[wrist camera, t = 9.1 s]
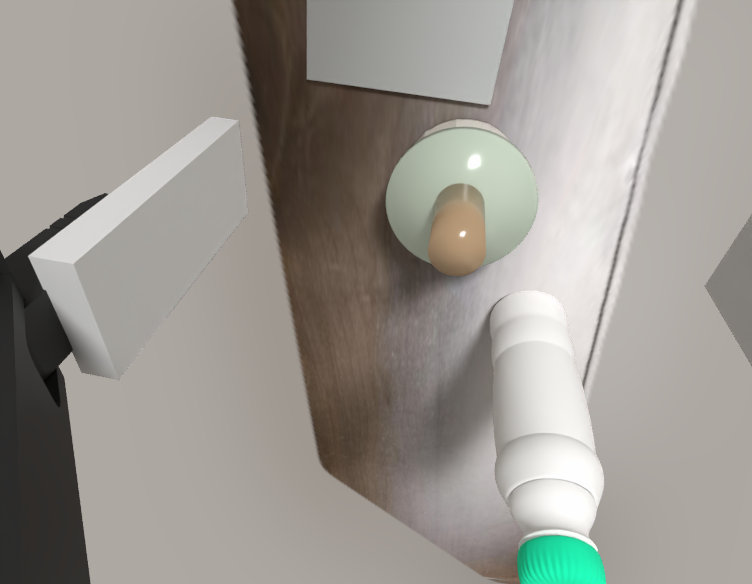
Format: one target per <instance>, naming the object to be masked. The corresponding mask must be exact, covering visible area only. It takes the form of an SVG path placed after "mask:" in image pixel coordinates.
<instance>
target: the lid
mask: <svg viewBox="0 0 752 584" xmlns="http://www.w3.org/2000/svg"><path fill="white" fill-rule="evenodd" d="M537 208H538V189H537V185H536V180H535V176H534V173H533V170H532V168H531V166H530V164H529V162H528V160H527V159H526V157H525V156H524V155H523V153H522V152H521V151H520V150H519V149H518V148H517V147H516V146H515V145H514V144H513V143H512V142H510V141H509V140H507V139H506V138H504V137H502V136H501V135H499V134H497V133H494V132H492V131H489V130H486V129H481V128H476V127H452V128H447V129H442V130H439V131H436V132H433V133H431V134H429V135H427V136H425V137H423V138H422V139H420V140H419V141H417V142H416V143H414V144H413V145H412V146H411V147H410V148H409V149H408V150H407V151H406V152H405V153H404V154H403V155H402V156H401V158H400V159H399V161H398V162H397V164H396V166H395V168H394V170H393V172H392V175H391V177H390V181H389V184H388V187H387V193H386V211H387V216H388V220H389V223H390V225H391V228H392V230H393V232H394V233H395V235H396V237H397V238H398V239H399V241H400V242H401V243H402V244H403V245H404V246H405V247H406V248H407V249H408V250H409V251H410V252H411V253H413V254H414V255H415V256H417V257H419V258H420V259H422V260H424V261H426V262H428V263H431V264H432V265H433V266H434V267H435V268H436V269H437V270H439V271H440V272H442V273H444V274H447V275H451V276H463V275H467V274H470V273H472V272H474V271H475V270H477V269H478V268H479V267H480V266H484V265H487V264H490V263H493V262H495V261H497V260H499V259H501V258H502V257H504V256H506V255H507V254H509V253H510V252H511V251H513V250H514V249H515V248H516V247H517V246H518V245H519V244H520V243H521V242H522V241H523V239H524V238H525V237H526V235H527V234H528V232H529V230H530V229H531V227H532V225H533V222H534V220H535V217H536V213H537Z"/></svg>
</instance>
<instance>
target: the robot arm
mask: <svg viewBox="0 0 752 584" xmlns="http://www.w3.org/2000/svg"><path fill="white" fill-rule="evenodd" d="M247 213H248V205H247V194H246V184H245V174H244V164H243V154H242V145H241V134H240V125H239V120H234V119H227V118H220V117H213V116H211V117H210V118H208V119H207V120H206V121H204V122H203V123H202V124H200V125H199V126H198V127H197V128H195V129H194V130H193V131H191V132H190V133H189V134H187V135H186V136H185V137H183V138H182V139H181V140H180V141H178V142H177V143H175V144H174V145H173V146H172V147H170V148H169V149H168V150H167V151H165V152H164V153H162V154H161V155H160V156H159V157H157V158H156V159H155V160H153V161H152V162H151V163H149V164H148V165H147V166H145V167H144V168H143V169H142V170H140V171H139V172H137V173H136V174H135V175H134V176H132V177H131V178H130V179H129V180H127V181H126V182H124V183H123V184H122V185H120V186H119V187H118V188H116V189H115V190H114V191H113V192H111V193H110V194H106V193H104V194H102V195H99V196H97V197H94V198H92V199H90V200H87V201H85V202H82V203H80V204H79V205H78V206H76V207H75V208H73V209H72V210H71V211H69V212H68V213H67V214H65V215H64V218H60V219H59V220H57V221H56V222H54V223H53V224H52V225H50V229H45V230H43V231H42V232H41V233H39V234H38V235H37V236H35V237H34V238H32V239H31V240H30V241H28V242H27V243H26V244H24V245H23V246H22V247H20V248H19V249H17V250H16V251H15V252H13V253H12V254H11V255H9V256H8V257H6V258H5V259H4V257H3V255H2V253H1V251H0V584H90V577H89V568H88V561H87V553H86V545H85V537H84V530H83V522H82V513H81V506H80V498H79V490H78V483H77V474H76V467H75V459H74V451H73V444H72V435H71V427H70V420H69V412H68V404H67V396H66V388H65V380H64V376H63V374H62V372H61V370H60V368H59V367H58V366H59V365H60V364H61V363H62V361H63V360H64V359H65V358H66V357H67V356H68V355H69V354H70V353H71V352H72V353H73V355H74V357H75V359H76V361H77V363H78V366H79V368H80V370H81V372H82V373H86V374H92V375H97V376H102V377H107V378H112V379H117V380H119V379H120V377H121V376H122V375H123V374H124V372H125V371H126V370H127V369H128V367H129V366H130V365H131V363H132V362H133V361H134V360H135V358H136V357H137V356H138V354H139V353H140V352H141V350H142V349H143V348H144V347H145V345H146V344H147V343H148V341H149V340H150V339H151V337H152V336H153V335H154V334H155V332H156V331H157V330H158V328H159V327H160V326H161V325H162V323H163V322H164V321H165V319H166V318H167V317H168V315H169V314H170V313H171V312H172V310H173V309H174V308H175V306H176V305H177V304H178V303H179V301H180V300H181V299H182V297H183V296H184V295H185V294H186V292H187V291H188V290H189V288H190V287H191V286H192V284H193V283H194V282H195V281H196V279H197V278H198V277H199V275H200V274H201V273H202V272H203V270H204V269H205V268H206V266H207V265H208V264H209V263H210V261H211V260H212V259H213V257H214V256H215V255H216V253H217V252H218V251H219V249H220V248H221V247H222V246H223V244H224V243H225V242H226V241H227V239H228V238H229V237H230V235H231V234H232V233H233V231H234V230H235V229H236V228H237V226H238V225H239V224H240V222H241V221H242V219H244V217H245V216H246V215H247ZM705 288H706V289H707V291H708V293H709V294H710V296H711V298H712V299H713V301H714V303H715V305H716V306H717V308H718V310H719V311H720V313H721V315H722V316H723V318H724V320H725V321H726V323H727V325H728V327H729V328H730V330H731V332H732V333H733V335H734V337H735V338H736V340H737V342H738V343H739V345H740V347H741V349H742V350H743V352H744V353H745V355H746V357H747V359H748V361H749V362H750V364H751V366H752V215H751V216H750V218H749V219H748V221H747V223H746V224H745V226H744V227H743V228H742V230H741V232H740V233H739V235H738V236H737V238H736V239H735V241H734V242H733V244H732V245H731V247H730V248H729V250H728V251H727V253H726V254H725V256H724V257H723V259H722V260H721V262H720V264H719V265H718V267H717V268H716V270H715V271H714V273H713V274H712V276H711V277H710V279H709V280H708V282H707V283H706V285H705Z"/></svg>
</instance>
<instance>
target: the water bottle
mask: <svg viewBox="0 0 752 584" xmlns="http://www.w3.org/2000/svg"><path fill="white" fill-rule="evenodd" d="M490 333H491V339H492V347H491V360H492V367H493V370H494V375H493V423H494V437H495V446H496V453H497V459H496V463H495V480H496V484H497V487H498V489H499V492H500V494H501V495H502V497H503V499H504V501H505V502H506V504H507V506H508V507H509V508H510V512H511V515H512V517H513V519H514V520H515V522H516V523H517V524H518V526H519V527H520V528H521V530H522V532H523V538H522V539H521V540H520V542H519V551H518V556H517V566H518V575H519V580H520V584H606V578H605V571H604V567H603V563H602V560H601V557H600V555H599V554H598V549H597V547H596V545H595V544H594V543H593V542H592V541H591V540H590V539H589V535H588V534H589V531H590V529H591V527H592V525H593V523H594V521H595V518H596V509H597V507H598V505H599V502H600V499H601V496H602V493H603V487H604V475H603V470H602V467H601V464H600V462H599V459H598V458H597V456H596V453H595V444H594V437H593V431H592V425H591V420H590V416H589V411H588V407H587V402H586V398H585V394H584V390H583V387H582V383H581V380H580V377H579V374H578V371H577V368H576V366H575V365H576V358H575V351H574V347H573V343H572V340H571V338H570V336H569V325H568V320H567V315H566V312H565V310H564V308H563V306H562V304H561V303H560V302H559V301H558V300H557V299H556V298H554V297H553V296H551V295H549V294H547V293H544V292H541V291H535V290H524V291H518V292H514V293H512V294H509V295H507V296H506V297H504V298H503V299H501V300H500V301H499V302H498V303H497V304H496V305H495V307H494V308H493V310H492V313H491V316H490Z"/></svg>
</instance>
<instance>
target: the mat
mask: <svg viewBox="0 0 752 584" xmlns="http://www.w3.org/2000/svg"><path fill="white" fill-rule="evenodd" d="M513 2H514V0H307V79H308V80H315V81H322V82H329V83H337V84H344V85H351V86H358V87H365V88H372V89H379V90H386V91H393V92H400V93H408V94H415V95H422V96H429V97H436V98H443V99H450V100H457V101H464V102H471V103H479V104H486V105H490V104H491V99H492V95H493V91H494V86H495V82H496V77H497V73H498V68H499V64H500V60H501V55H502V51H503V46H504V42H505V38H506V33H507V29H508V24H509V20H510V16H511V11H512V7H513Z"/></svg>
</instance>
